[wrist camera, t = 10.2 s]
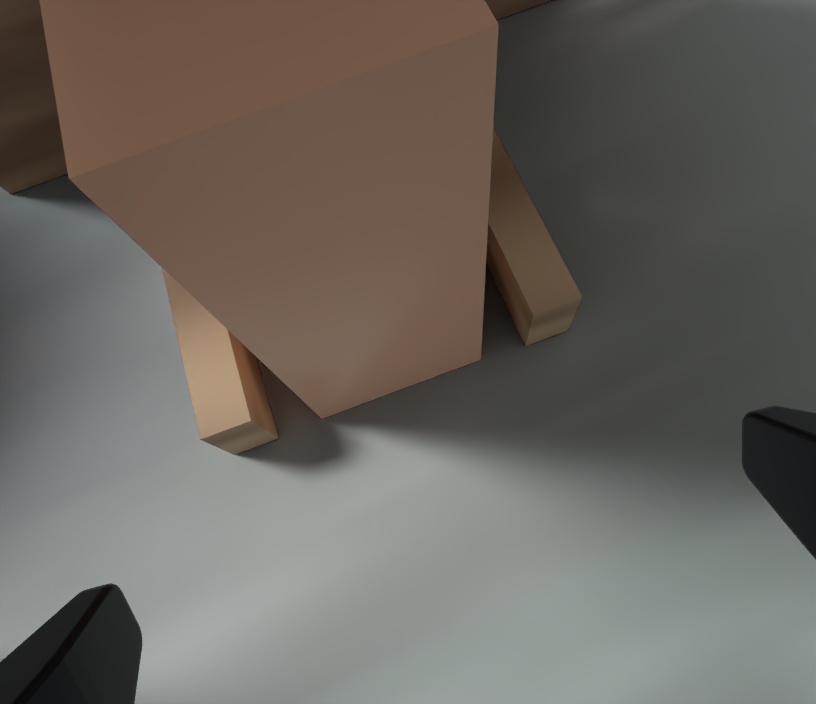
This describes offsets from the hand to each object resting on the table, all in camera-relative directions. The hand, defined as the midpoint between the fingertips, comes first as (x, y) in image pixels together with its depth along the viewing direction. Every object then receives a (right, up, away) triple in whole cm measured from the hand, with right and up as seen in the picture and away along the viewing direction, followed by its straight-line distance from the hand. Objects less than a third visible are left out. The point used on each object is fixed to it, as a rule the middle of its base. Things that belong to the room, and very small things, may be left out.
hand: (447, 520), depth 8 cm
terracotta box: (-2, +4, +12) cm, 12 cm away
